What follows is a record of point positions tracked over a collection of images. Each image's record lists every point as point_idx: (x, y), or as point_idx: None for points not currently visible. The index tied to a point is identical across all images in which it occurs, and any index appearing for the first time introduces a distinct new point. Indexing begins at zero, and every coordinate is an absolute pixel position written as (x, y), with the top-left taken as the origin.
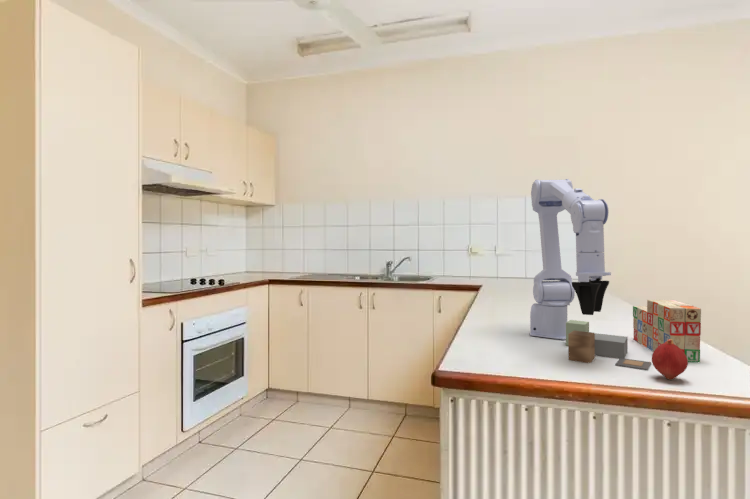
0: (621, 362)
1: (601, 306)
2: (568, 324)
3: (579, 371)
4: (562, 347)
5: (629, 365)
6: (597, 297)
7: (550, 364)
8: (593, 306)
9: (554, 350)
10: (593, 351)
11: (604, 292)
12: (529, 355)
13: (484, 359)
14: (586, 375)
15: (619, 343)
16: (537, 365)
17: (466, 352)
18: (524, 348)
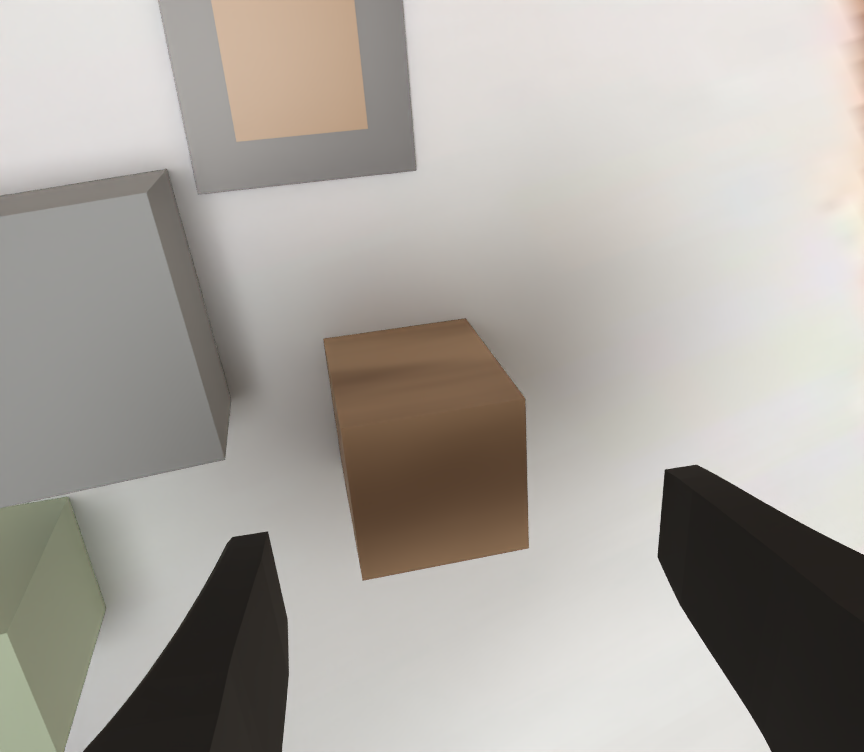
0: (339, 146)
1: (244, 568)
2: (58, 732)
3: (685, 298)
4: (177, 599)
5: (385, 73)
6: (248, 718)
7: (633, 467)
8: (777, 511)
9: (301, 593)
10: (367, 356)
11: (135, 740)
12: (519, 620)
13: (719, 700)
14: (743, 238)
15: (160, 232)
16: None
17: None
18: (384, 710)
